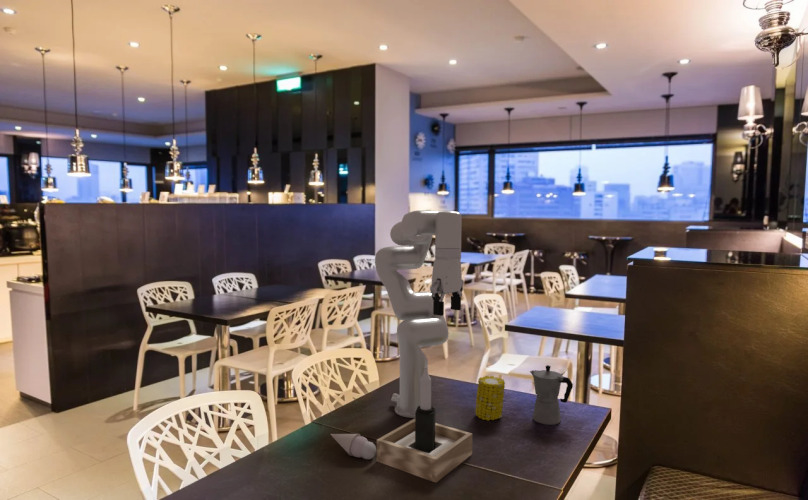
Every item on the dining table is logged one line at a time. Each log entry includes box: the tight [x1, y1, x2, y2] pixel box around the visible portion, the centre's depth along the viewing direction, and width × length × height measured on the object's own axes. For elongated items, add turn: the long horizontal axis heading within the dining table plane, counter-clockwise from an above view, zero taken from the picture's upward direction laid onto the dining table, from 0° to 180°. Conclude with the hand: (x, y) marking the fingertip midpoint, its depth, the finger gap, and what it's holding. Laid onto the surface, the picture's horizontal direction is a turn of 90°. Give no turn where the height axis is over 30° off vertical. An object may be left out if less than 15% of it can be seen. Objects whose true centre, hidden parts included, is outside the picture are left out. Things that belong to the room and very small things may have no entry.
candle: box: [415, 367, 436, 453], centre depth 145 cm, size 5×5×25 cm
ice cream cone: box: [330, 433, 377, 460], centre depth 147 cm, size 6×6×15 cm
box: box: [376, 418, 473, 483], centre depth 145 cm, size 19×19×6 cm
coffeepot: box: [529, 364, 574, 426], centre depth 171 cm, size 15×9×18 cm, turn 43°
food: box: [474, 375, 506, 422], centre depth 174 cm, size 14×11×9 cm
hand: (447, 312), depth 154 cm, fingers open, 9 cm apart
